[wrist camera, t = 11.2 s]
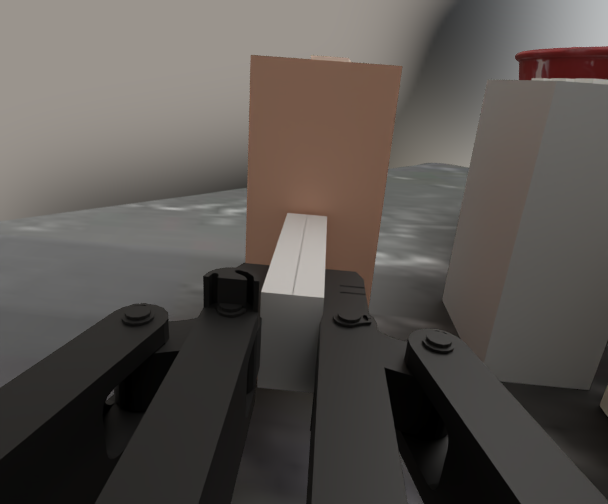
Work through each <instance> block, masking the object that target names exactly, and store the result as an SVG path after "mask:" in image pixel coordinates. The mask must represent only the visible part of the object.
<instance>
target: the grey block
mask: <svg viewBox="0 0 608 504" xmlns="http://www.w3.org/2000/svg"><path fill="white" fill-rule="evenodd" d="M442 301H443V303H444V305H445V307H446V309H447V311H448V313H449V316H450V318H451V320H452V322H453V324H454V326H455V328H456V330H457V333H458V335H459V337H460V339H461V340H462V341H463V342H465V343H466V344H467V345H468V347H469V348H470V349H471V350H472V351H473V352H474V353H475V354H476V355H477V357H478V358H479V359H480V360H481V361H482V362H483V363H484V364H485V365H486V366H487V368H488V369H489V370H490V371H491V372H492V373H493V374H494V375H495V376H496V378H497V379H498V380H499V381H502V382H512V383H522V384H532V385H542V386H552V387H562V388H572V389H582V390H589V389H590V387H591V384H592V381H593V379H594V376H595V373H596V371H597V368H598V365H599V363H600V360H601V357H602V354H603V352H604V349H605V346H606V344H607V341H608V80H606V79H585V78H575V79H567V78H551V79H547V78H532V79H531V80H487V85H486V89H485V94H484V99H483V104H482V109H481V114H480V119H479V123H478V128H477V133H476V138H475V143H474V148H473V153H472V157H471V162H470V167H469V172H468V177H467V182H466V186H465V191H464V196H463V201H462V206H461V211H460V216H459V220H458V225H457V230H456V235H455V240H454V245H453V249H452V254H451V259H450V264H449V269H448V274H447V279H446V283H445V288H444V293H443V298H442Z"/></svg>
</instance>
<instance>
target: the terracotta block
mask: <svg viewBox="0 0 608 504" xmlns="http://www.w3.org/2000/svg"><path fill="white" fill-rule="evenodd" d="M401 73H402V66H394V65H380V64H367V63H353V62H351V61H350V59H349V58H341V57H327V56H314V55H311V59H298V58H284V57H271V56H258V55H251V67H250V108H249V145H248V186H247V224H246V263H251V264H262V265H270V264H271V261H272V258H273V255H274V252H275V249H276V246H277V243H278V240H279V237H280V234H281V231H282V228H283V225H284V222H285V219H286V216H287V213H295V214H306V215H318V216H327V234H326V261H325V269H331V270H342V271H354V272H357V273H358V274H359V275H360V276H361V277H362V278H363V279H364V285H365V291H366V298H367V304H368V308H369V301H370V294H371V287H372V280H373V273H374V265H375V258H376V251H377V244H378V237H379V230H380V223H381V215H382V208H383V201H384V194H385V187H386V180H387V173H388V166H389V158H390V151H391V144H392V136H393V130H394V123H395V115H396V109H397V101H398V94H399V87H400V79H401ZM257 380H258V376H257Z"/></svg>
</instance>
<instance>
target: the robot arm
mask: <svg viewBox="0 0 608 504" xmlns="http://www.w3.org/2000/svg"><path fill="white" fill-rule="evenodd" d="M326 234H327V216H318V215H306V214H295V213H287V216H286V219H285V222H284V225H283V228H282V231H281V234H280V237H279V240H278V243H277V246H276V249H275V252H274V255H273V258H272V261H271V264H270V265H262V264H251V263H243V264H242V265H240V266H238V267H237V268H220V269H215V270H213V271H210V272H208V273H207V274H206V275H204V276H203V282H204V308H203V310H202V311H201V313H200V315H199V317H198V318H195V319H190V320H182V321H170V322H168V312H167V311H166V310H165V309H164V308H162V307H159V306H157V305H151V304H146V303H141V304H133V305H130V306H126V307H123V308H121V309H119V310H116V311H114V312H113V313H111V314H110V315H108V316H107V317H105V318H104V319H102V320H101V321H99V322H98V323H96V324H95V325H93V326H92V327H90V328H89V329H87V330H86V331H84V332H83V333H81V334H80V335H78V336H77V337H75V338H74V339H72V340H71V341H70V342H68V343H67V344H65V345H64V346H62V347H61V348H59V349H58V350H56V351H55V352H53V353H52V354H50V355H49V356H47V357H46V358H44V359H43V360H41V361H40V362H38V363H37V364H35V365H34V366H32V367H31V368H29V369H28V370H26V371H25V372H23V373H22V374H20V375H19V376H17V377H16V378H14V379H13V380H11V381H10V382H8V383H7V384H5V385H4V386H2V387H1V388H0V504H230V503H231V499H232V495H233V490H234V486H235V482H236V478H237V474H238V469H239V465H240V461H241V457H242V453H243V448H244V444H245V440H246V436H247V432H248V427H249V423H250V419H251V415H252V410H253V406H254V402H255V384H256V380H257V376H258V380H257V388H267V389H278V390H287V391H298V392H308V393H314V397H313V407H312V418H311V428H310V431H311V439H310V454H309V470H308V486H307V501H306V504H408V502H407V496H406V490H405V485H404V479H403V473H402V467H401V461H400V456H399V452H400V454H401V456H402V458H403V460H404V462H405V465H406V467H407V469H408V471H409V473H410V475H411V477H412V479H413V481H414V483H415V486H416V488H417V490H418V492H419V494H420V496H421V498H422V500H423V502H424V504H608V500H607V499H606V498H605V497H604V496H603V495H602V494H601V493H600V491H599V490H598V489H597V488H596V487H595V486H594V485H593V484H592V483H591V481H590V480H589V479H588V478H587V477H586V476H585V475H584V474H583V473H582V472H581V470H580V469H579V468H578V467H577V466H576V465H575V464H574V463H573V462H572V460H571V459H570V458H569V457H568V456H567V455H566V454H565V453H564V452H563V451H562V449H561V448H560V447H559V446H558V445H557V444H556V443H555V442H554V441H553V439H552V438H551V437H550V436H549V435H548V434H547V433H546V432H545V431H544V429H543V428H542V427H541V426H540V425H539V424H538V423H537V422H536V421H535V420H534V418H533V417H532V416H531V415H530V414H529V413H528V412H527V411H526V410H525V408H524V407H523V406H522V405H521V404H520V403H519V402H518V401H517V400H516V399H515V397H514V396H513V395H512V394H511V393H510V392H509V391H508V390H507V389H506V387H505V386H504V385H503V384H502V383H501V382H500V381H499V380H498V379H497V378H496V376H495V375H494V374H493V373H492V372H491V371H490V370H489V369H488V368H487V366H486V365H485V364H484V363H483V362H482V361H481V360H480V359H479V358H478V357H477V355H476V354H475V353H474V352H473V351H472V350H471V349H470V348H469V347H468V345H467V344H466V343H465V342H463V341H462V340H461V339H460V338H458V337H457V336H455V335H453V334H451V333H449V332H447V331H444V330H442V331H441V330H440V329H427V328H425V329H419V330H415V331H414V332H412V333H410V335H409V338H408V342H406V341H403V340H399V339H396V338H393V337H390V336H387V335H385V334H383V333H381V332H380V331H378V329H377V323H376V321H375V319H374V318H373V317H372V316H371V315H370V314H369V310H368V304H367V298H366V291H365V285H364V279H363V278H362V277H361V276H360V275H359V274H358V273H357V272H354V271H342V270H331V269H325V261H326ZM113 389H114V395H113V396H111V397H110V398H109V399H108V400H107V401H106V399H107V396H108V395H109V394H110V393H111V391H112V390H113Z"/></svg>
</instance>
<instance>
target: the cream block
mask: <svg viewBox="0 0 608 504" xmlns="http://www.w3.org/2000/svg"><path fill="white" fill-rule="evenodd" d="M599 406H600V407H601V408H602V410H603V411H604V412H605V414H606V415H607V417H608V384H607V387H606V390H605V392H604V395H603V397H602V400H601V402H600V405H599Z"/></svg>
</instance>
